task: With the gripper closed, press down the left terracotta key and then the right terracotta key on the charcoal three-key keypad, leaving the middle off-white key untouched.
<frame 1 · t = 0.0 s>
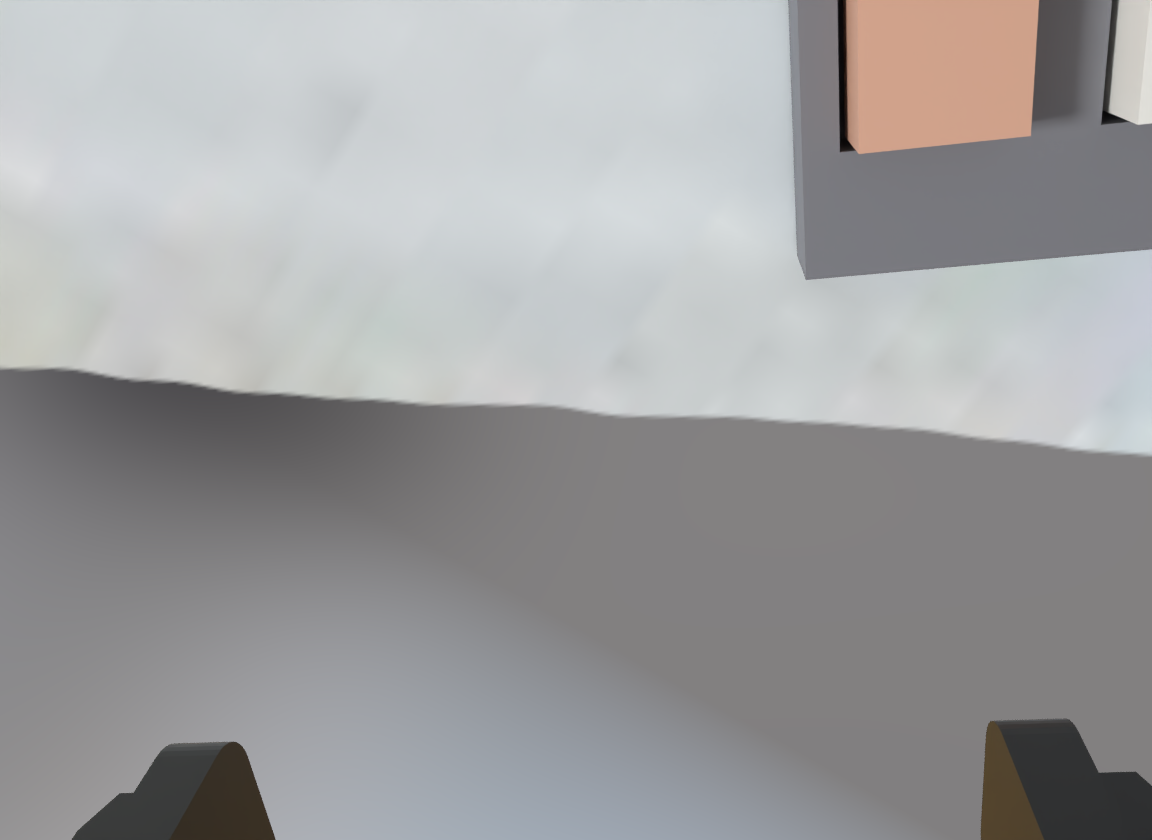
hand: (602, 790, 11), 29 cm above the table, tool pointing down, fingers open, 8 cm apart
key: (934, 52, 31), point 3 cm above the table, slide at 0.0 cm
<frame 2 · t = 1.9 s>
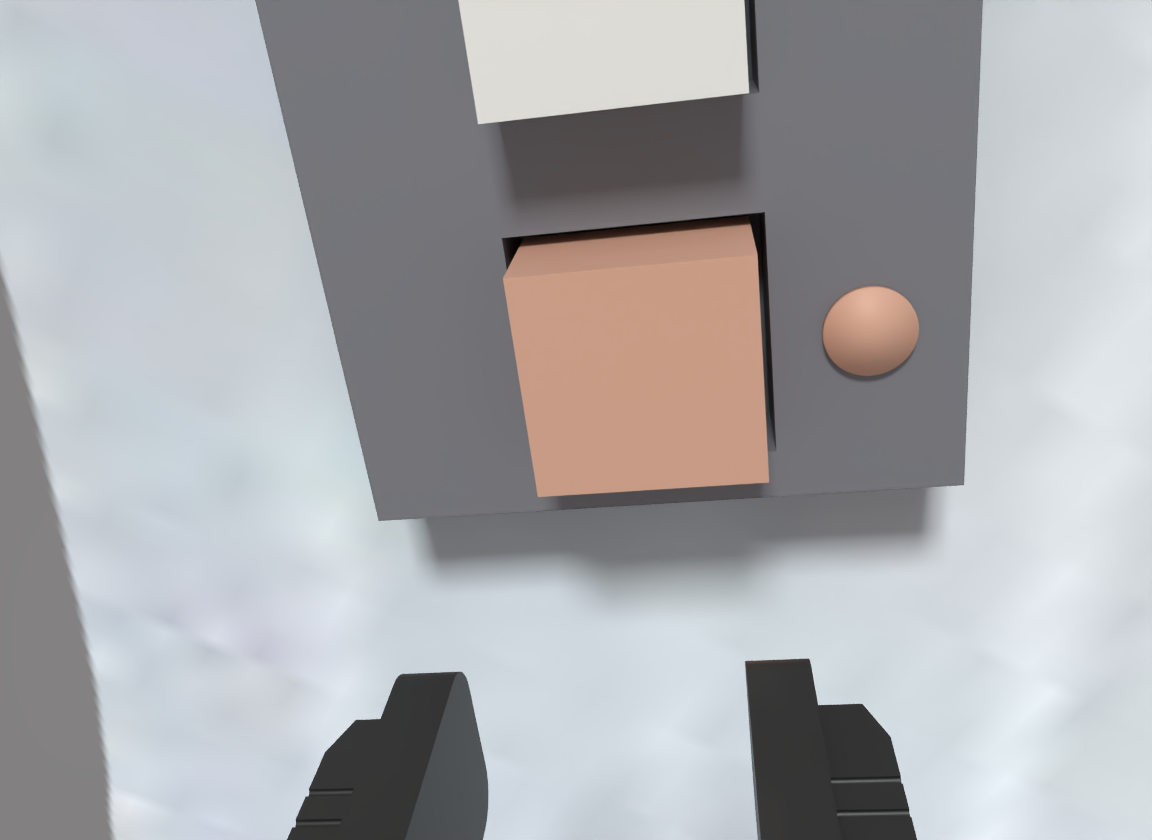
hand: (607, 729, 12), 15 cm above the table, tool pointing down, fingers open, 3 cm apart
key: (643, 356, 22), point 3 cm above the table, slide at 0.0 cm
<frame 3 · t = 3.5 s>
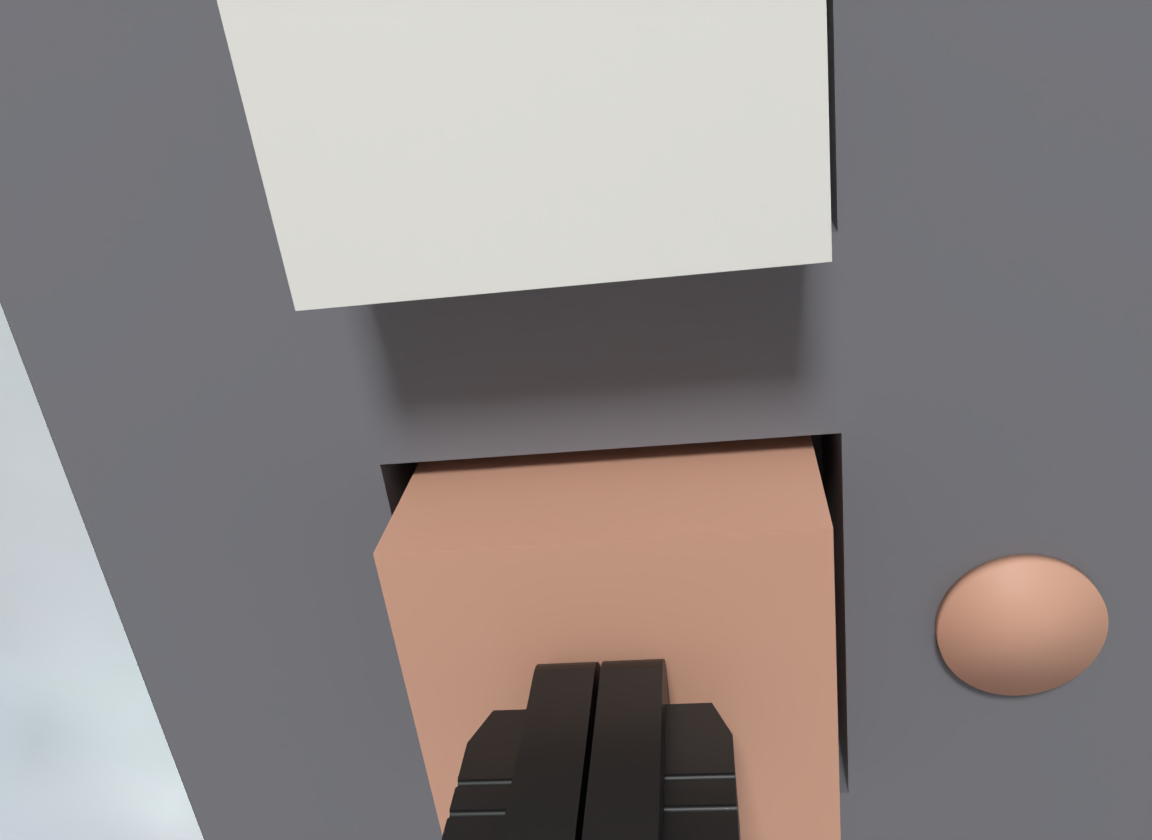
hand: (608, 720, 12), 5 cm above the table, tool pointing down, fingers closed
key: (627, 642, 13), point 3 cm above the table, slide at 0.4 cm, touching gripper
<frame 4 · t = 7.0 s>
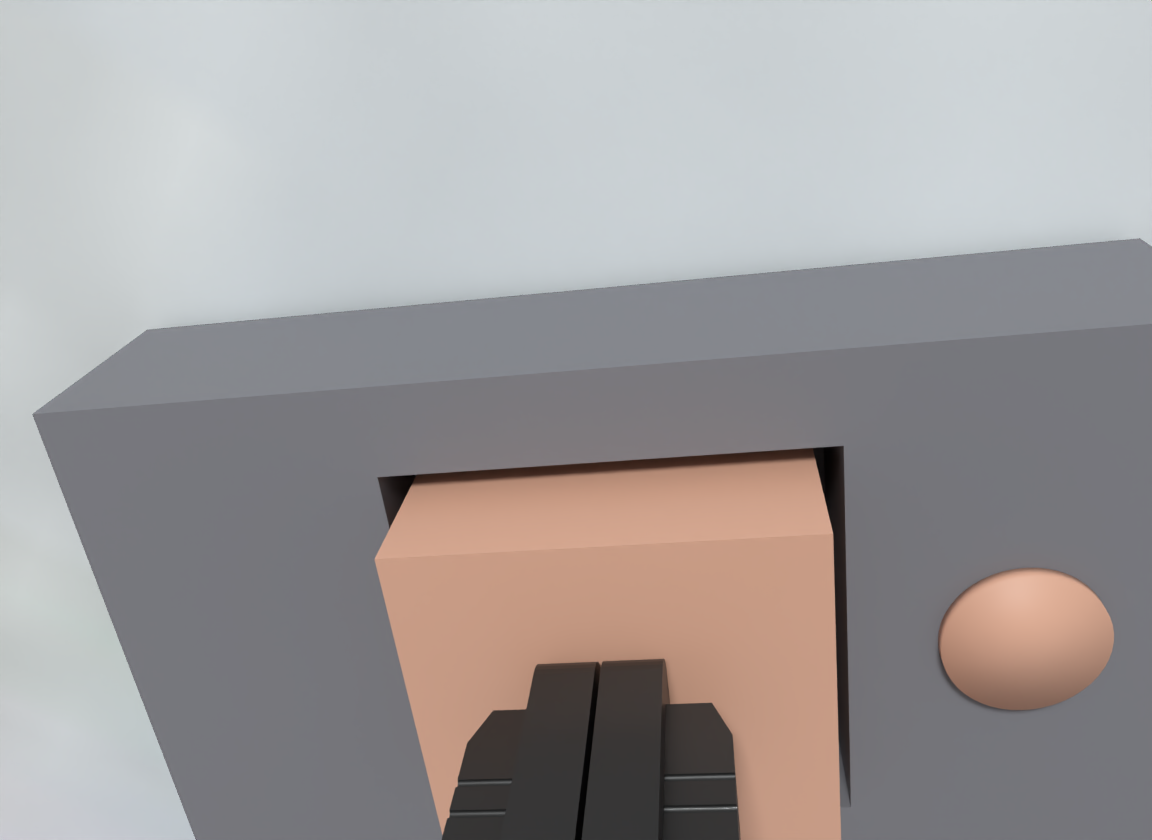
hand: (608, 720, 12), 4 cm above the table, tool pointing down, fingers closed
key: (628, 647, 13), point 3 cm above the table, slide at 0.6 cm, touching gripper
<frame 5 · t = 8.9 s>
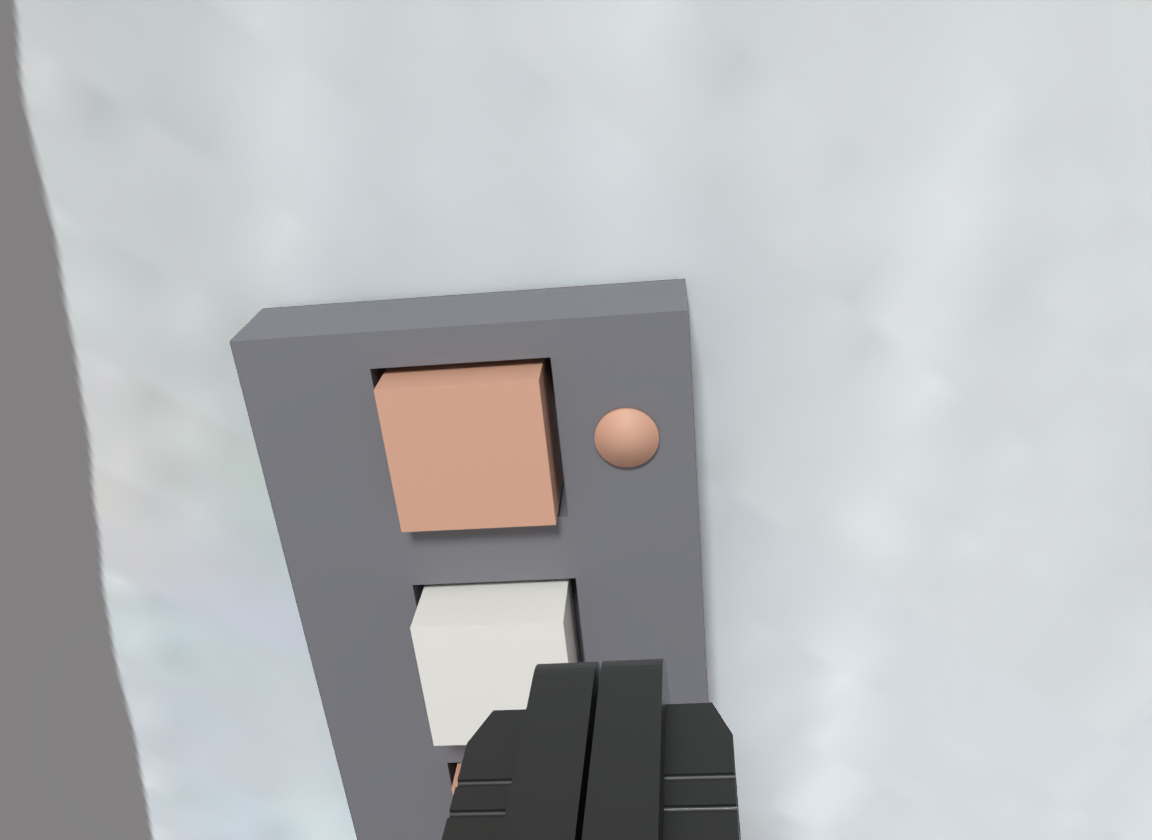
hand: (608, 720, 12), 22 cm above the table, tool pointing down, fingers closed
keypad: (513, 597, 39), on the table
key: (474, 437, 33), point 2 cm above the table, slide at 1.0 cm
key middle: (501, 657, 35), point 3 cm above the table, slide at 0.0 cm
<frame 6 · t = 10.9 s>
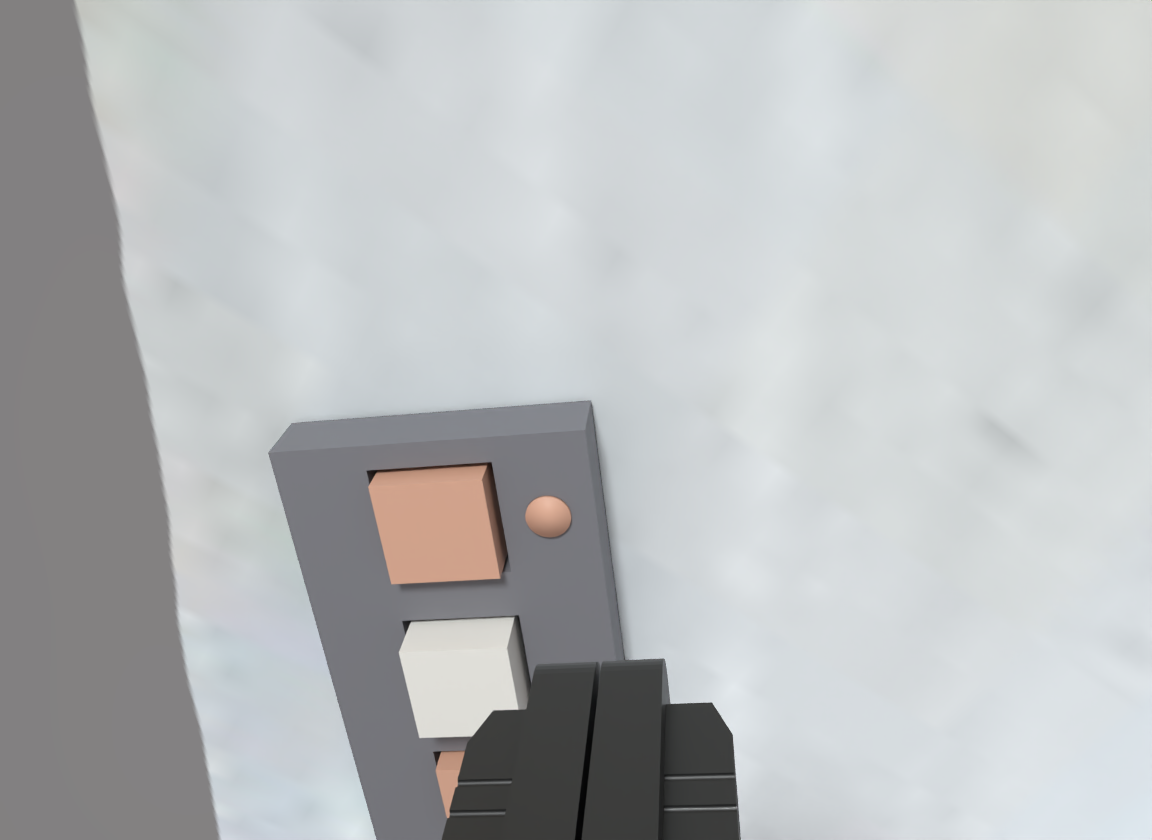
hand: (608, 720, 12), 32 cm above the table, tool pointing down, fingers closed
keypad: (481, 627, 51), on the table
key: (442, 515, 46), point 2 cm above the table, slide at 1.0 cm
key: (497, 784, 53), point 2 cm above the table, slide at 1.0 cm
key middle: (468, 673, 48), point 3 cm above the table, slide at 0.0 cm
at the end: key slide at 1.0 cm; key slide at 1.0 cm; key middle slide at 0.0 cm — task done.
